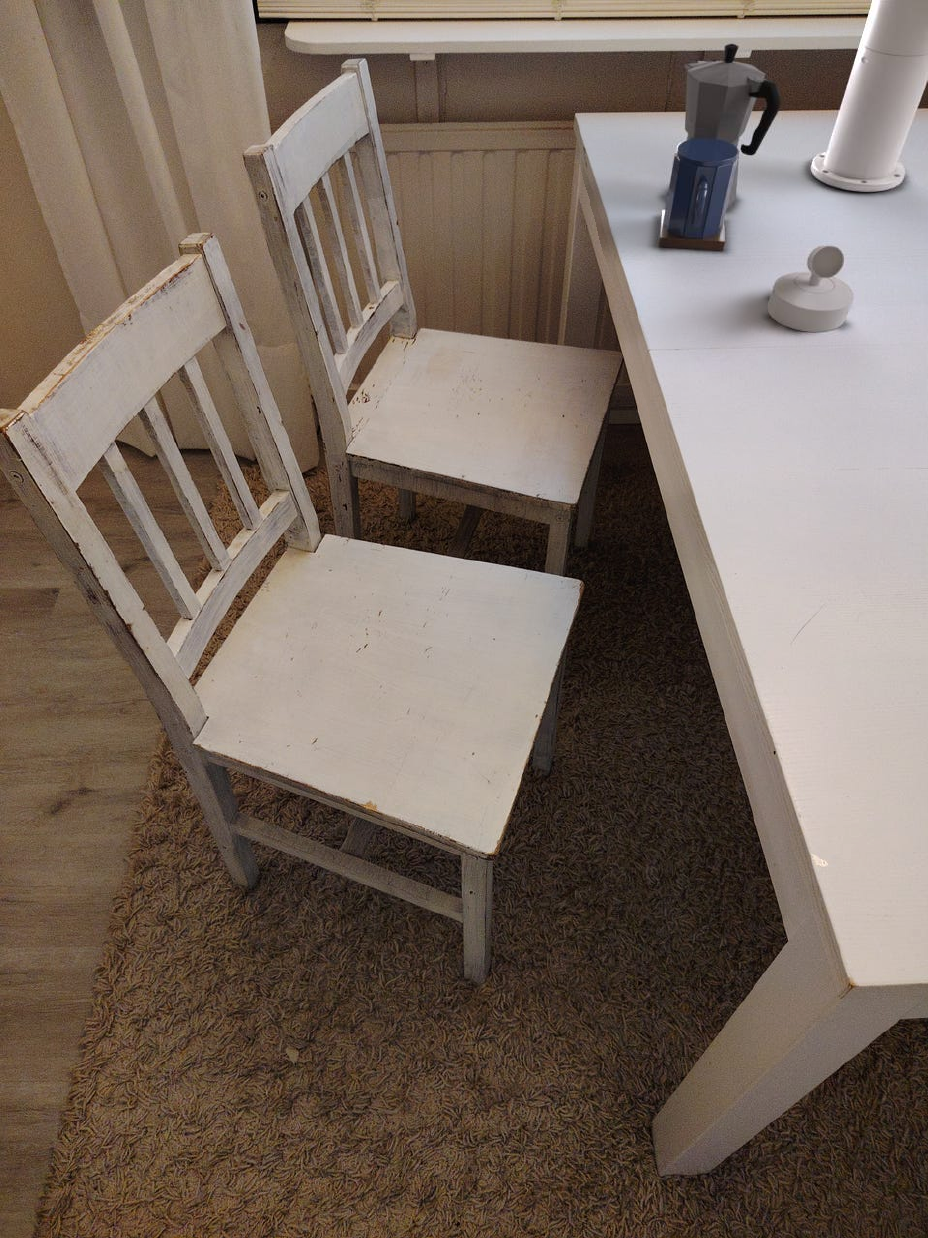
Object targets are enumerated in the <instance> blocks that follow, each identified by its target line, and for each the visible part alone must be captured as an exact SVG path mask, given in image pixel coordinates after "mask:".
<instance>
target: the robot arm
mask: <svg viewBox="0 0 928 1238" xmlns="http://www.w3.org/2000/svg"><path fill="white" fill-rule="evenodd" d="M870 5H871V6H870V10H869V12H868V16H867V19H866V23H865V25H864V26H865V27H864V30H863V33H862V36H861V39H860V42H859V46H858V49H857V52H856V56H855V59H854V62H853V64H852V69H851V72H850V75H849V78H848V81H847V85H846V88H845V91H844V95H843V98H842V101H841V105H840V107H839V111H838V114H837V116H836V117H837V118H836V121H835V124H834V127H833V131H832V134H831V137H830V140H829V143H828V147H827V150H826V151H822V152H820V153H818V154H816V156H814V158H813V159H812V162H811V165H810V171H811V173H812V175H813V176H814V178H816V179H817V180H819V181H820V182H822V183H824V184H826V185H828V186H831V187H834V188H837V189H841V190H845V191H852V192H864V193H873V192H883V191H887V190H888V191H889V190H891V189H894V188H895V187H898V186H899V185H900V184H901V183H902V182H903V180H904V178H905V176H906V168H905V166H904V164H902V162H900V161H899V159H900V156H901V153H902V151H903V147H904V145H905V142H906V140H907V137H908V134H909V132H910V130H911V127H912V124H913V121H914V118H915V116H916V113H917V110H918V107H919V105H920V102H921V100H922V97H923V94H924V92H925V89H926V86H927V83H928V0H872V2H871V4H870Z"/></svg>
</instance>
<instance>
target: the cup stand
mask: <svg viewBox="0 0 928 1238" xmlns="http://www.w3.org/2000/svg"><path fill="white" fill-rule="evenodd" d="M664 214H665V209H662V210H661V216H660V227H659V238H658V239H659V241H658V247H659V248H670V249H672V248H673V249H685V250H686V249H687V250H702V251H715V252H716V251H718V252H723V251H724V248H725V244H726V230H725V227H726V226H725V221H724V222H723V227H722V229H721V230H720V231H719V233H718V234H716V235H715V236H711V237H707V238H703V239H702V238H701V239H696V238H683V237H680V236H677V235H675V234H672V233H670V232H669V231H667V229H666V228H665V226H664V225H663V220H664Z"/></svg>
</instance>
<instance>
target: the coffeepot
mask: <svg viewBox="0 0 928 1238" xmlns="http://www.w3.org/2000/svg"><path fill="white" fill-rule="evenodd" d="M739 48H740V46H739V45H737V44H735V43H727V44H726V45H724V53H723V54H724V55H723V60H716V61H707V60H698V61H695V60H693V61H691V62H689V63H684V68H685V69H686V71H687V73H686V92H685V95H686V96H685V99H686V100H685V114H684V115H685V117H684V118H685V119H684V131H685V132H686V133H687V135H686V140H690V139H696V138H712V139H719V140H723V141H726V142H729V143H731V144H733V145H734V146H735V147H736V148H737V149H738V161H737V165H736V170H735V174H734V178H733V183H732V187H731V191H730V196H729V200H728V205H727V209H729V208H730V207H731V206H732V205H733V203H734V202H735V200H737V199H736V198H737V184H738V174H739V173H738V171H739V158H740V152H741V153H742V154H743V155H746V156H750V157H751V156H754V155H755V154H756V153H757V152H758V150H759V148H760V146H761V144H762V143H763V140H764V139H765V137H766V135H767V133H768V131H769V129H770V128H771V126H772V124H773V122H774V121H775V119H776V116H777V115H778V114H779V112H780V109H781V106H782V97H781V94H780V91H779V87H778V84H777V83H776V82H774V81H771V80H768V79H766V78H765V76H766V73H764V72H763V71H761V70H760V69H758V68H757V67H756V66H754V65H753V64H749V63H744V62H739V61H734V60H735V58H736V55H737V52H738V50H739ZM757 99H763V100H765V103H766V107H765V108H764V110H763V112H762V113H761V117H760V120H759V123H758V125H757V126H756V128H755V129H754V131H753V132H752V137H751V140H750V143H749V145H748V144H744V143H741V145H740V150H739V148H738V146H739V141H740V137H742V135H743V134H744V133H745V131H746V128H747V125H748V123H749V120H750V117H751V114H752V112H753V109H754V107H755V103H756V101H757ZM666 197H668V193H667V194H666Z"/></svg>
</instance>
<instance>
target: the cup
mask: <svg viewBox="0 0 928 1238" xmlns="http://www.w3.org/2000/svg"><path fill="white" fill-rule="evenodd" d="M737 148H738V147H737ZM737 148H736V147H735V146H734V145H733V144H731V143H729V142H726V141H723V140H719V139H712V138H696V139H690V140H687V139H686V140H684V141H682V142H679V144H678V145H677V147H676V152H674V157H673V161H672V168H671V174H670V179H669V185H668V191H667V194H668V196H666V197H667V198H666V202H665V203H666V204H665V209H664V210H665V214H664V220H663V225H664V226H665V228H666V229H667V231H669V232H670V233H672V234H675V235H677V236H680V237H683V238H696V239H701V238H702V239H703V238H707V237H711V236H715V235H716V234H718V233H719V231H720V230H721V229H722V227H723V222H724V223H725V217H726V213H727V210H728V208H727V205H728V200H729V196H730V191H731V187H732V183H733V178H734V174H735V170H736V165H737V161H738V162H739V159H738V150H739V148H738V149H737Z"/></svg>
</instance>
